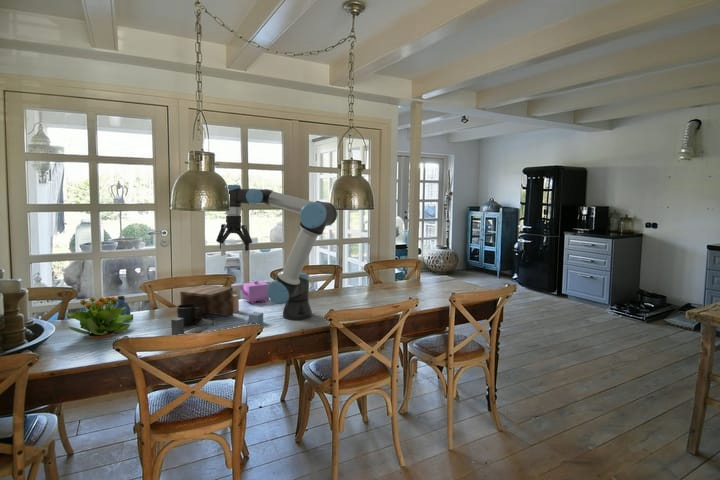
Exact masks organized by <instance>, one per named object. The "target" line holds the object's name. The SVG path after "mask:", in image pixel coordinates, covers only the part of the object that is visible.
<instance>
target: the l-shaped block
mask: <svg viewBox="0 0 720 480" xmlns="http://www.w3.org/2000/svg"><path fill="white" fill-rule="evenodd" d="M239 305H240V303H239V294H233V312H235V313H237V311H238V312H240V310H239V308H240V307H239Z"/></svg>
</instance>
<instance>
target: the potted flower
mask: <svg viewBox="0 0 720 480" xmlns="http://www.w3.org/2000/svg"><path fill="white" fill-rule="evenodd" d="M79 302H80V306H81V305H82V306H83V308H84V310H81V311H80V312H79V311H74V312H65V313H64V315H65V316H66V318H70V319H73V320H77V321H79V325H80V328H81V329H80V328H77V327H73V326H67V328H68V329H69V330H71V331H73V332H76V333H78V334H79V333H80V334H83V335H88V336H89V338H90V339H92V340H94V339H95V340H99V339H100V340H101V339H106V338H110V337H112V336H115V334H122V333H123V332H126V330H128V329H129V328H130V327H131V324H130V323H124V322H133V320H134V314H133V313H130V314H129V315H126V314H124V315H121V313H123V312H124V311H123V310H124V309H126V307H124V308H122V309H121V308H116V309H115V308H114V305H115V304H116V305H117V303H118V298H116V297H115V296H111V297H109V296H106V297H100V298H99V299H98V300H96V298H95V297H94V296H91V297H90V298H89V299H88V300H87V301H86V299H81V300H80V301H79ZM116 305H115V306H116ZM104 306H105V308H104ZM87 310H88V311H87Z"/></svg>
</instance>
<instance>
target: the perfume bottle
mask: <svg viewBox="0 0 720 480" xmlns="http://www.w3.org/2000/svg"><path fill="white" fill-rule="evenodd" d="M117 299H118V302H117V305H116V304H115V305H116V306H115V305H114V304H113V305H114V308H115V309H116V308H121V309H122V308H124V307H126V309H124V310H123V311H124V312H123V313H121V315H124V314H126V315H129V314H130V315H131V307H130V306H129V304H128V302H126V298H125V295H119V296H117Z"/></svg>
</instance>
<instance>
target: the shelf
mask: <svg viewBox="0 0 720 480" xmlns="http://www.w3.org/2000/svg"><path fill="white" fill-rule="evenodd" d="M233 289H234V287H229V286H221V285H212V284H211V285H210V284H202V285H198V286H195V287H191V288H188V289H184V290H182V291H180V295H179V296H180V305H182V304H194V305H195V308H197V307H200V308H202V314H201V315H203V314H212V315H214V314H215V315H222V316H230V317H233V316H234V313H233V293H234V290H233ZM199 314H200V309H195V316H196V317H198V316H199Z"/></svg>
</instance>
